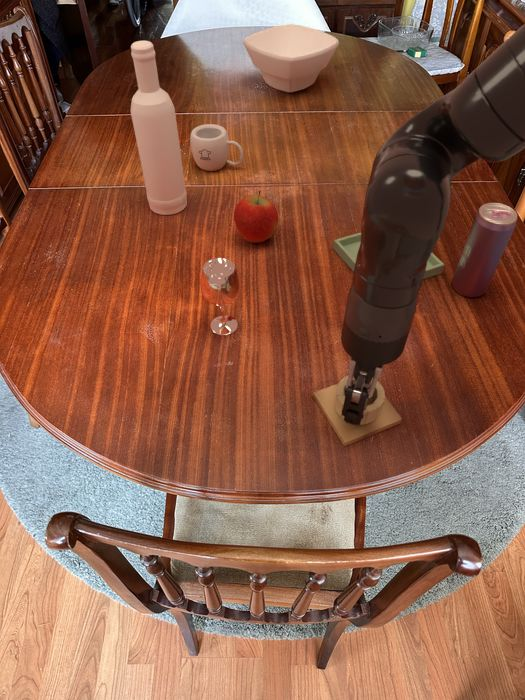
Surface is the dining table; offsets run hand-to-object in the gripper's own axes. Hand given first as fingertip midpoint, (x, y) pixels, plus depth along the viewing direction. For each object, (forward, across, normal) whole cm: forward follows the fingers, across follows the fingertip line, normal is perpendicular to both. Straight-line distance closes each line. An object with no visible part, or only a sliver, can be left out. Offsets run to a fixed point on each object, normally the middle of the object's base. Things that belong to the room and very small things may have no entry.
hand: (358, 400), depth 70 cm
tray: (+2, +34, +3) cm, 34 cm away
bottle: (+2, +36, +49) cm, 61 cm away
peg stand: (+2, 0, 0) cm, 2 cm away
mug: (+2, +54, +45) cm, 70 cm away
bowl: (+2, +101, +45) cm, 111 cm away
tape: (+1, 0, 0) cm, 1 cm away
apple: (+2, +32, +28) cm, 42 cm away
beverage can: (+2, +32, -12) cm, 34 cm away
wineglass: (+2, +8, +24) cm, 26 cm away
